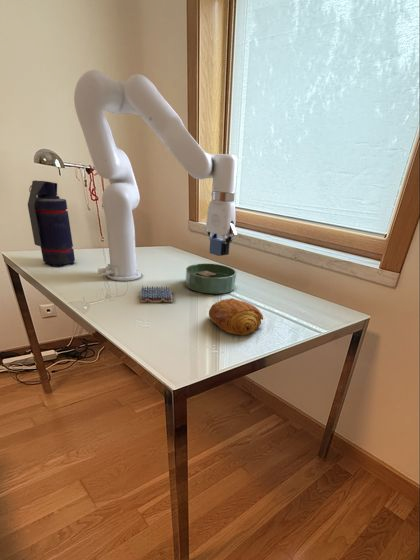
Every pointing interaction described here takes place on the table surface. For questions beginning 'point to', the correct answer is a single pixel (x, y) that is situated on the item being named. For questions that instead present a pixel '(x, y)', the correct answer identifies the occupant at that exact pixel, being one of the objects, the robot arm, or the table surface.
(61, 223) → the grenade
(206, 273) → the walnut block
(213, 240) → the periwinkle blue block
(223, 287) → the faceted green bowl
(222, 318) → the croissant
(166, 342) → the table surface
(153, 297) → the spiked square pad
